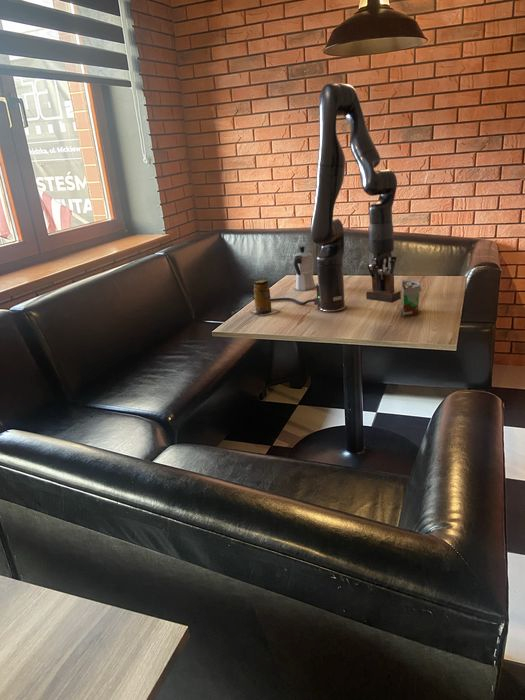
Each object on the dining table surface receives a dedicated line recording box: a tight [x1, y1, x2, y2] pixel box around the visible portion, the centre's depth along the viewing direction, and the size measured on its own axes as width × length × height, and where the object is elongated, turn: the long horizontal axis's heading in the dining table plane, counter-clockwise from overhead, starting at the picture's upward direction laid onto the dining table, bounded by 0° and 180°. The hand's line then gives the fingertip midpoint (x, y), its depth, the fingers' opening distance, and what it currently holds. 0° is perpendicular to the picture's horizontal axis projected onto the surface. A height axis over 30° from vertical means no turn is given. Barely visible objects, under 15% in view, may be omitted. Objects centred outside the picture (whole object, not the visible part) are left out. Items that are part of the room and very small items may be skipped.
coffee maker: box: [292, 245, 316, 291], centre depth 228 cm, size 15×9×18 cm, turn 154°
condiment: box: [250, 279, 279, 316], centre depth 202 cm, size 7×8×12 cm
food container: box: [401, 280, 422, 318], centre depth 183 cm, size 12×6×10 cm, turn 169°
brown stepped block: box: [365, 272, 402, 303], centre depth 175 cm, size 10×5×9 cm, turn 45°
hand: (383, 289), depth 175 cm, fingers closed on brown stepped block
